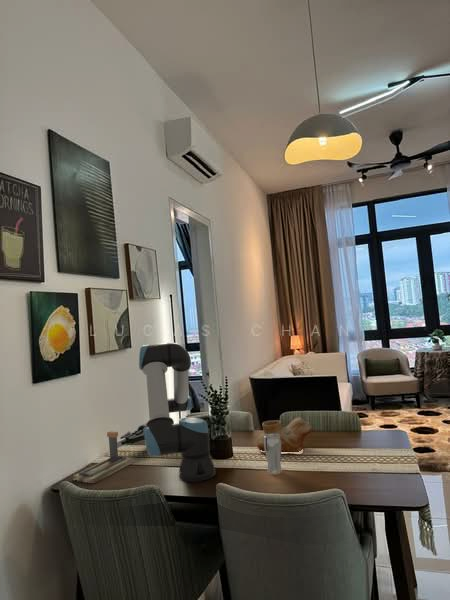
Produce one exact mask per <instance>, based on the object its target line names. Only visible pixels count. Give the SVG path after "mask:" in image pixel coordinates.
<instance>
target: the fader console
mask: <svg viewBox="0 0 450 600" xmlns="http://www.w3.org/2000/svg"><path fill="white" fill-rule="evenodd" d="M109 458H110V457H109ZM109 458H106V459H104V460H102V461H100V462H99V463H96V464H94V465H92V466H90V467H88V468H86V469H84V470H82V471H78V472H77V473H75V474H73V475H72V479H73V481H75V480H77V481H76V482H81V481H82V483H87V482H88V484H93V483H94V484H96V483H98V482H100V481H101V480H103V479H106V478H107V477H109V476H111V475H113V474H114V473H116V472H118V471H120V470H122V469H124V468H125V467H128V466H129V465H132V464H133V461H132V458H127V456H124V455H122V456H121V455H118V458H120V460H118V461H116V462H111V461H109Z"/></svg>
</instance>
